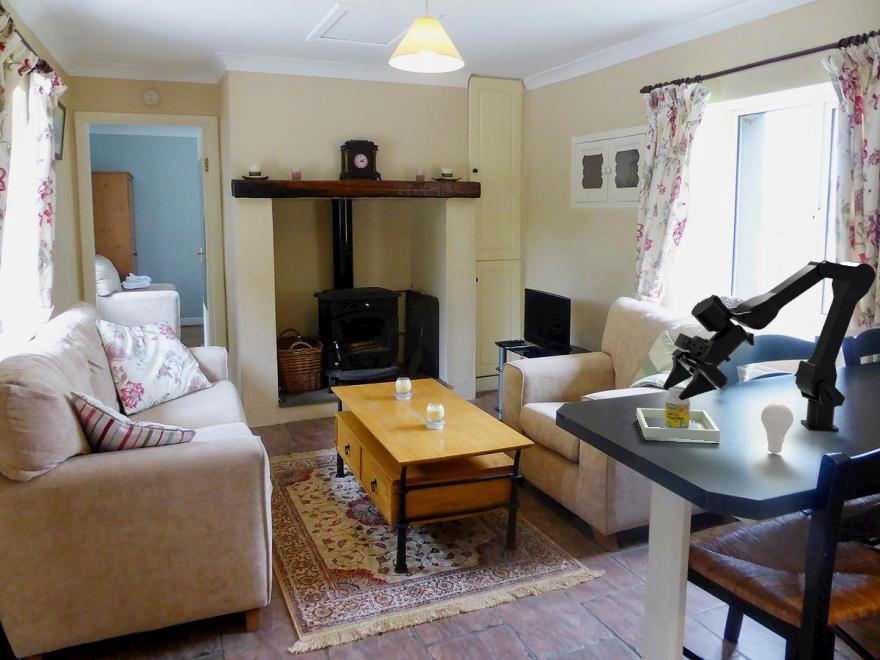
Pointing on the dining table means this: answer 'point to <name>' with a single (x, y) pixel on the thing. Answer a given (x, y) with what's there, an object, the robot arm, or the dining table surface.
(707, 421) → the bin
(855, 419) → the dining table surface
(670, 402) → the supplement bottle
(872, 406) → the dining table surface
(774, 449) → the lightbulb
